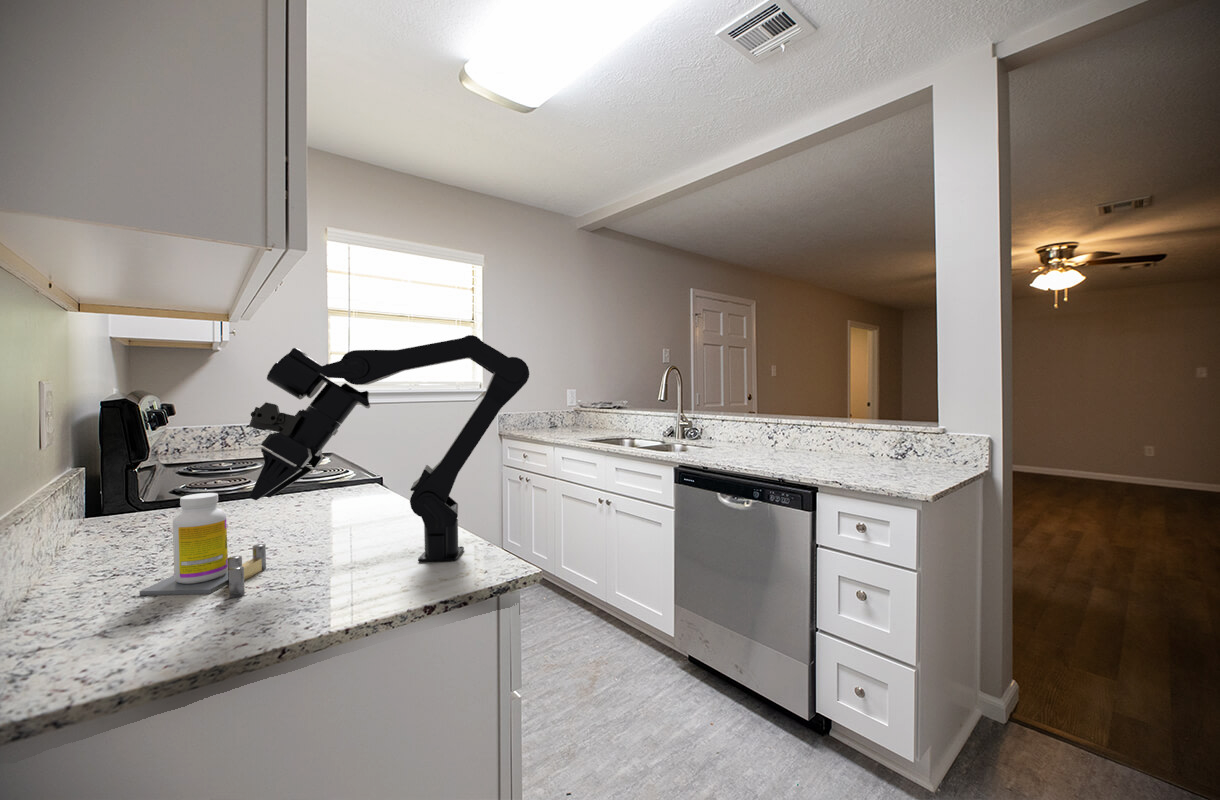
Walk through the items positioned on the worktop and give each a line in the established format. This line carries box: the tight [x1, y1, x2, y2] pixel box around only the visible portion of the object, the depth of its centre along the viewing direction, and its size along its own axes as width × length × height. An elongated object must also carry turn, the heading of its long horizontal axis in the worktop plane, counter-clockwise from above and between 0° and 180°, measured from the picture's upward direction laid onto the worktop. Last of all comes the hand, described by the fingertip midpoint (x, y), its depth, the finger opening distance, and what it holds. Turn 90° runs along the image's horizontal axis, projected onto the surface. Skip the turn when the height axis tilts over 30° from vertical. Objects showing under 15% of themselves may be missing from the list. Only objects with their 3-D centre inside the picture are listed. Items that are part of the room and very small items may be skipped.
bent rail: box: [227, 543, 267, 599], centre depth 81 cm, size 13×5×4 cm, turn 2°
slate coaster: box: [138, 571, 228, 596], centre depth 82 cm, size 10×10×1 cm
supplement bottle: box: [172, 492, 229, 584], centre depth 82 cm, size 7×7×13 cm
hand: (259, 497), depth 82 cm, fingers open, 9 cm apart
